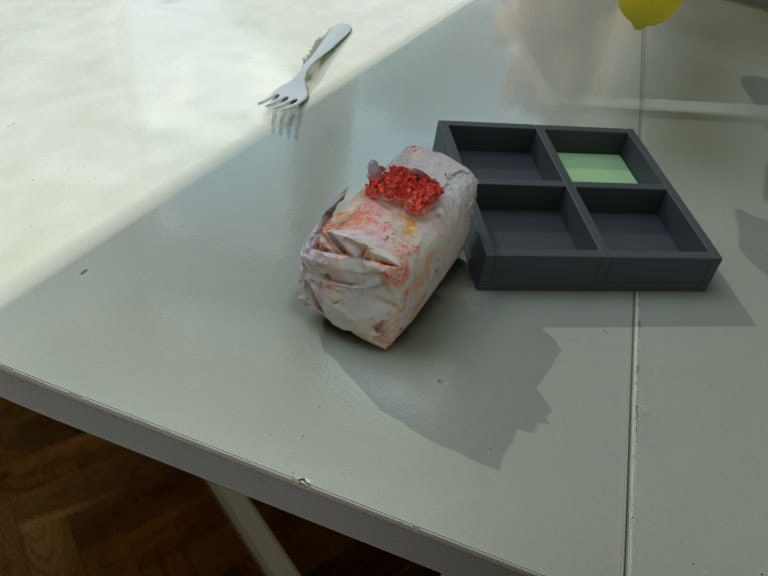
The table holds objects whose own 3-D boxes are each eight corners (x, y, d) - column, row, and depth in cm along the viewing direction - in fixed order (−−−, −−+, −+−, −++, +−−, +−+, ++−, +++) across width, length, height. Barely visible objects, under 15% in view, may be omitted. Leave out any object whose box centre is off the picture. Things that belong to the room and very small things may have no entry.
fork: (359, 27, 88) (361, 12, 87) (285, 128, 70) (286, 111, 69) (332, 21, 89) (334, 6, 87) (251, 120, 71) (252, 102, 69)
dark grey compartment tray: (621, 159, 74) (633, 128, 72) (705, 291, 60) (723, 258, 58) (431, 152, 70) (438, 119, 68) (476, 290, 57) (486, 255, 55)
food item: (392, 370, 50) (416, 252, 44) (285, 321, 52) (293, 201, 46) (470, 258, 60) (499, 147, 53) (377, 220, 62) (394, 109, 55)
